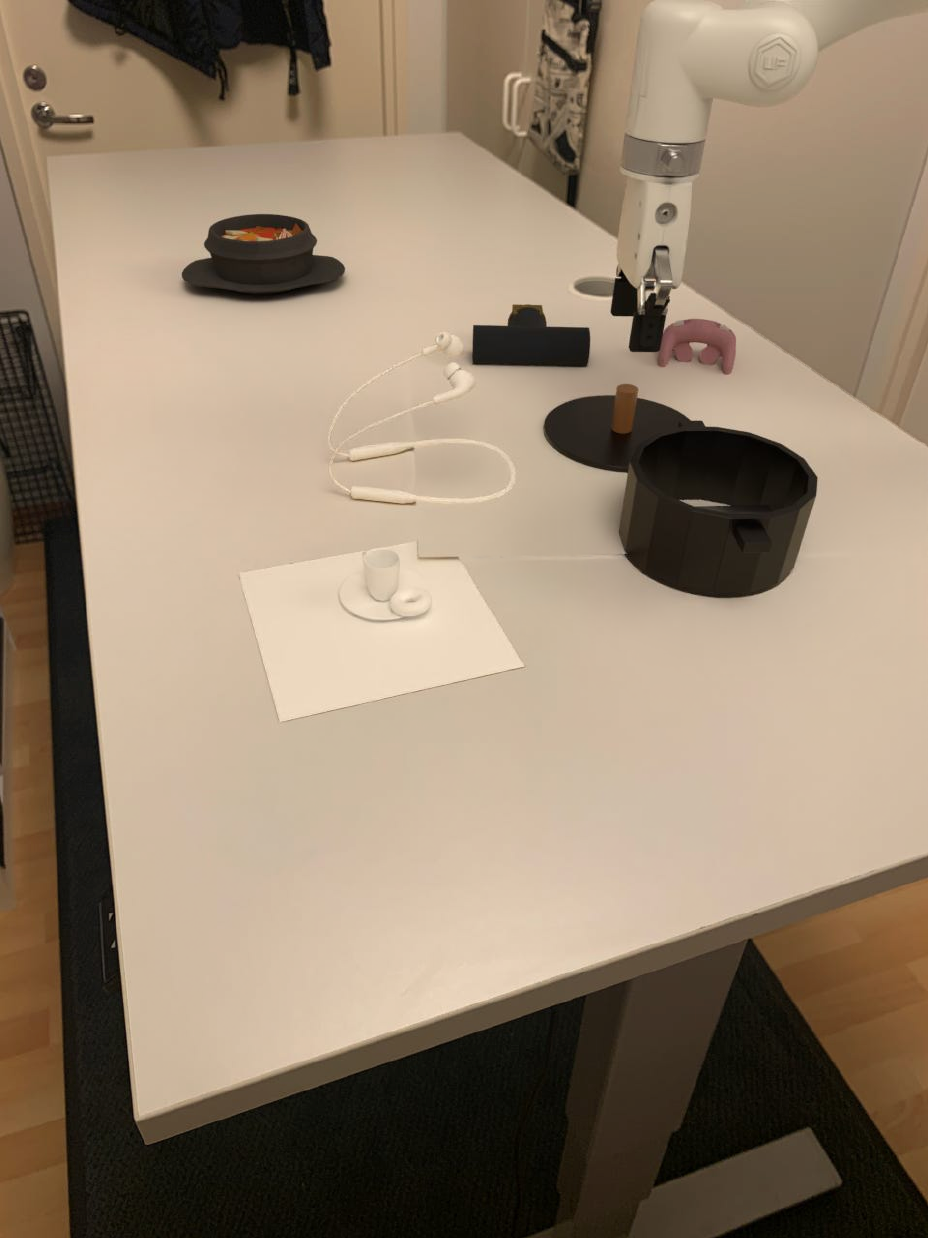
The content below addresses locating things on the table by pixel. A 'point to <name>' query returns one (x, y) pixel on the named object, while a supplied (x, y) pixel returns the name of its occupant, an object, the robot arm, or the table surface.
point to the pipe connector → (530, 341)
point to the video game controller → (699, 331)
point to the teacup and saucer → (370, 628)
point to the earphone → (461, 386)
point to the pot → (711, 540)
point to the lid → (607, 427)
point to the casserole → (261, 256)
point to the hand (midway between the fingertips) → (633, 332)
